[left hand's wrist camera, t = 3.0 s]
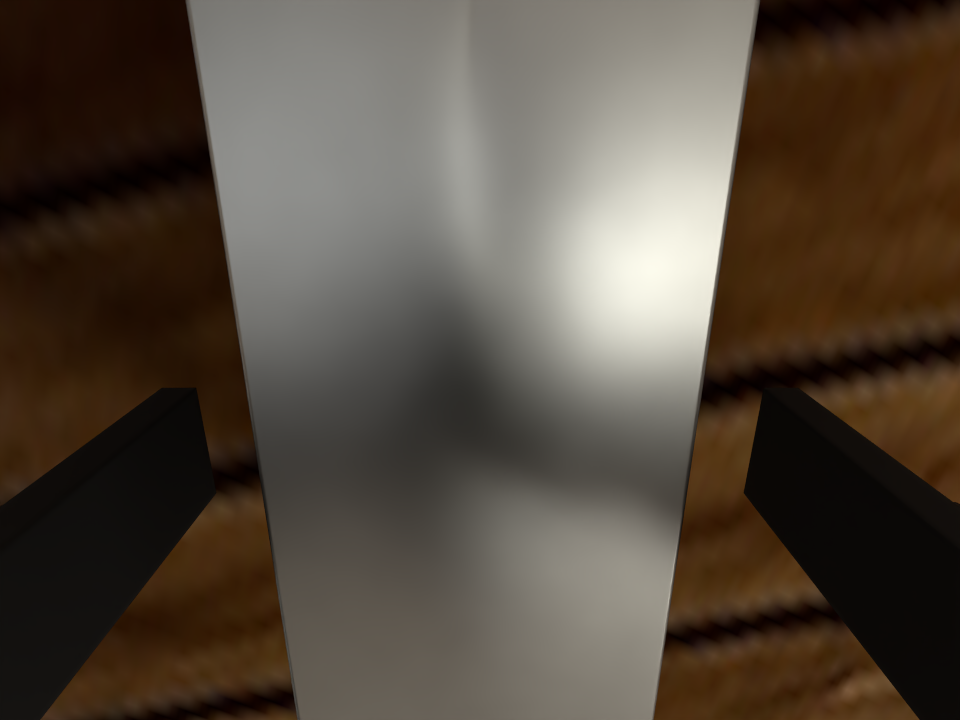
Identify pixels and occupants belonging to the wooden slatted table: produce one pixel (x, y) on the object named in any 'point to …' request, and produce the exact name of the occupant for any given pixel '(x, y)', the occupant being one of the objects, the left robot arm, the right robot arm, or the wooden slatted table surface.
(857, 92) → the wooden slatted table surface
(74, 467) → the left robot arm
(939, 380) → the wooden slatted table surface
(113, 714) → the wooden slatted table surface
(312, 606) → the bar
